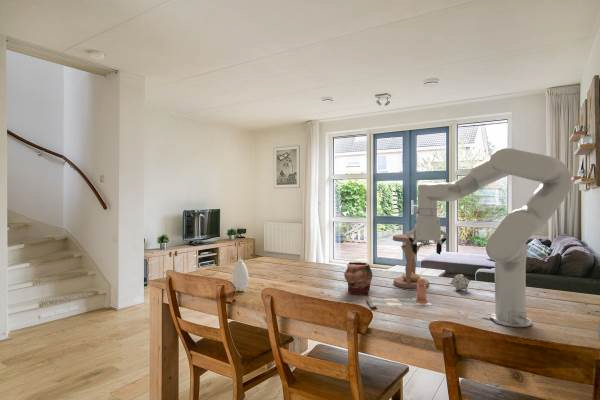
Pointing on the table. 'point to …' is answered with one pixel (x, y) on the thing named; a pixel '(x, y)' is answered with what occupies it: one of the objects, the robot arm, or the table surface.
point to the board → (393, 302)
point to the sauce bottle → (240, 275)
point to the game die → (460, 282)
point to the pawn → (421, 291)
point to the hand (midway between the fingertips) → (426, 253)
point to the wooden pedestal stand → (408, 264)
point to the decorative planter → (358, 277)
